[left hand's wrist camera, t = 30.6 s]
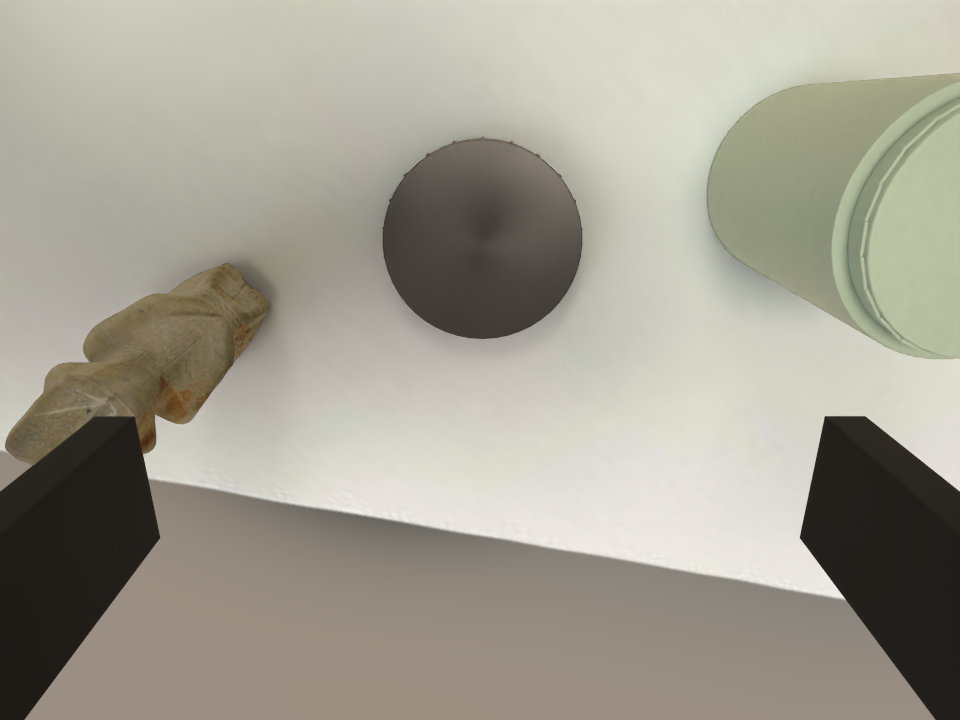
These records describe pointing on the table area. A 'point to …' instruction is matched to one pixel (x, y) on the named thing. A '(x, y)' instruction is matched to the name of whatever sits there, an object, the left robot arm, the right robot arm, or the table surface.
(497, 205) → the lid
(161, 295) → the sculpture
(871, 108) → the jar
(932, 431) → the table surface
